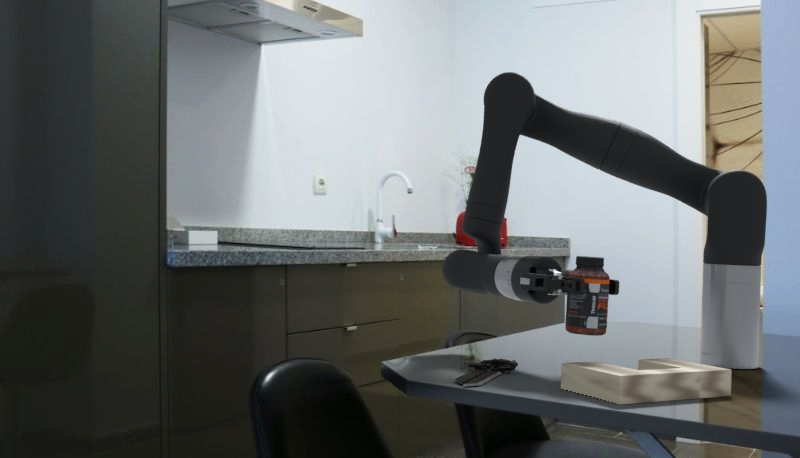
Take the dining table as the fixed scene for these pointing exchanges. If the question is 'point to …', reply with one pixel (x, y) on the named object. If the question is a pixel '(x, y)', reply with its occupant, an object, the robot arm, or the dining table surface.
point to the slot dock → (646, 381)
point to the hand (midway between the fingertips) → (600, 287)
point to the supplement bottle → (588, 298)
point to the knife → (482, 373)
